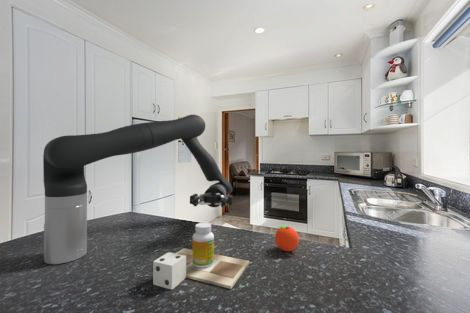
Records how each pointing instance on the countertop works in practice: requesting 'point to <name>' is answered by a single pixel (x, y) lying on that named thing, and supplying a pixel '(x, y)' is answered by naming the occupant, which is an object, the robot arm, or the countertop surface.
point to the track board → (215, 269)
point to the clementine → (286, 238)
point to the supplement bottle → (203, 246)
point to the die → (169, 270)
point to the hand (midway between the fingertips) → (208, 203)
